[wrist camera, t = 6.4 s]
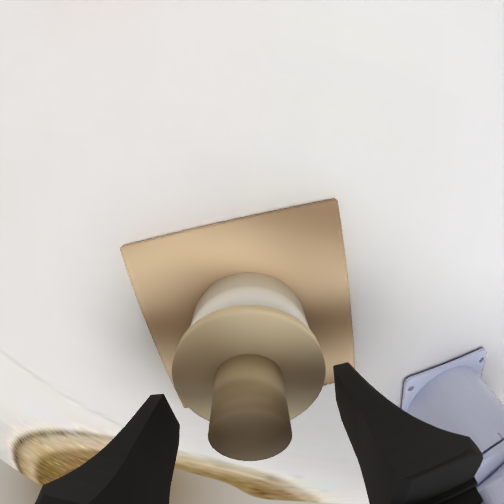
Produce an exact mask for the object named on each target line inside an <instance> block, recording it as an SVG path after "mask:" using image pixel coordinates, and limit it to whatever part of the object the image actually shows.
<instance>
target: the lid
mask: <svg viewBox="0 0 504 504" xmlns="http://www.w3.org/2000/svg"><path fill="white" fill-rule="evenodd" d="M325 374H326V367H325V360H324V357H323V354H322V351H321V348H320V345H319V343H318V341H317V339H316V337H315V335H314V334H313V333H312V331H311V330H310V329H309V328H308V327H307V326H306V325H305V324H304V323H303V322H301V321H300V320H299V319H297V318H296V317H294V316H292V315H290V314H288V313H286V312H284V311H281V310H279V309H275V308H271V307H267V306H260V305H238V306H231V307H227V308H223V309H220V310H217V311H214V312H212V313H210V314H208V315H205V316H204V317H202V318H201V319H199V320H198V321H196V322H195V323H194V324H193V325H192V326H190V327H189V329H188V330H187V331H186V332H185V333H184V335H183V336H182V338H181V340H180V342H179V344H178V346H177V349H176V352H175V356H174V359H173V364H172V379H173V383H174V386H175V389H176V391H177V393H178V395H179V397H180V398H181V399H182V401H183V402H184V403H185V404H186V405H187V406H188V407H189V408H190V409H191V410H192V411H193V412H194V413H196V414H197V415H199V416H200V417H202V418H204V419H206V420H208V421H210V423H209V432H208V439H209V442H210V444H211V446H212V447H213V448H214V449H215V450H216V451H217V452H219V453H220V454H222V455H224V456H226V457H229V458H232V459H236V460H243V461H257V460H263V459H267V458H270V457H273V456H275V455H277V454H279V453H281V452H282V451H283V450H285V449H286V448H287V446H288V445H289V444H290V442H291V439H292V431H291V424H290V420H291V419H293V418H295V417H296V416H298V415H299V414H301V413H302V412H303V411H305V410H306V409H307V408H308V407H309V406H310V405H311V404H312V403H313V402H314V401H315V399H316V398H317V397H318V395H319V393H320V391H321V389H322V387H323V384H324V380H325Z"/></svg>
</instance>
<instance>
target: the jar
mask: <svg viewBox="0 0 504 504" xmlns="http://www.w3.org/2000/svg"><path fill="white" fill-rule="evenodd" d="M238 305H260V306H267V307H271V308H275V309H279V310H281V311H284V312H286V313H288V314H290V315H292V316H294V317H296V318H297V319H299V320H300V321H301V322H303V323H304V324H305V325H306V326H307V327H308V328H309V325H308V322H307V319H306V316H305V313H304V311H303V308H302V305H301V303H300V300H299V299H298V297H297V295H296V294H295V293H294V292H293V290H292V289H291V288H290V287H289V286H287V285H286V284H285V283H283V282H282V281H280V280H278V279H276V278H274V277H272V276H269V275H266V274H261V273H253V272H244V273H237V274H233V275H229V276H227V277H224V278H222V279H220V280H218V281H216V282H215V283H214V284H212V285H211V286H210V287H209V288H208V289H207V290H206V291H205V292H204V293H203V294H202V296H201V297H200V299H199V301H198V303H197V305H196V308H195V311H194V315H193V318H192V322H191V325H190V326H192V325H193V324H194V323H195V322H196V321H198V320H199V319H201V318H202V317H204V316H205V315H208V314H210V313H212V312H214V311H217V310H220V309H223V308H227V307H231V306H238ZM309 329H310V328H309Z"/></svg>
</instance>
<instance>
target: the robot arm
mask: <svg viewBox="0 0 504 504" xmlns="http://www.w3.org/2000/svg"><path fill="white" fill-rule="evenodd" d="M486 354H487V351H486V350H485V349H484V348H481V349H479V350H477V351H474V352H472V353H470V354H468V355H465V356H463V357H461V358H458V359H456V360H453V361H451V362H448V363H446V364H443V365H441V366H438V367H435V368H433V369H430V370H427V371H425V372H422V373H419V374H416V375H414V376H411V377H408V378H407V379H406V380H405V382H404V389H403V399H402V408H399V407H398V406H396V405H395V404H393V403H392V402H391V401H389V400H388V399H387V398H385V397H384V396H383V395H382V394H380V393H379V392H378V391H377V390H376V389H375V388H373V387H372V386H371V385H370V384H369V383H368V382H367V381H366V380H365V379H364V378H363V377H362V376H361V375H360V374H359V373H358V372H357V371H356V370H355V369H354V368H353V367H352V365H351V364H350V363H348V362H346V363H342V364H338V365H334V366H333V371H334V381H335V392H336V401H337V405H338V408H339V412H340V416H341V419H342V422H343V424H344V427H345V429H346V432H347V434H348V437H349V439H350V442H351V444H352V446H353V449H354V451H355V454H356V456H357V459H358V462H359V464H360V467H361V471H362V475H363V479H364V482H365V486H366V490H367V494H368V498H369V503H370V504H504V405H503V404H502V403H501V401H500V400H499V399H498V398H497V396H496V395H495V394H494V393H493V392H492V390H491V389H490V388H489V387H488V385H487V384H486V383H485V382H484V381H483V380H482V378H481V374H482V370H483V366H484V362H485V358H486ZM409 387H410V388H409ZM179 429H180V424H179V422H178V421H177V419H176V417H175V415H174V413H173V411H172V409H171V407H170V405H169V404H168V402H167V400H166V398H165V396H164V394H157V395H151V396H150V397H149V398H148V399H147V400H146V402H145V403H144V404H143V405H142V406H141V408H140V409H139V410H138V411H137V413H136V414H135V415H134V416H133V417H132V419H131V420H130V421H129V422H128V423H127V425H126V426H125V427H124V428H123V429H122V430H121V431H120V432H119V433H118V434H117V436H116V437H115V438H114V439H113V440H112V441H111V442H110V443H109V444H108V445H107V446H106V447H104V448H103V449H102V450H101V451H100V452H99V453H98V454H96V455H95V456H94V457H92V458H91V459H90V460H88V461H87V462H86V463H84V464H83V465H81V466H80V467H78V468H77V469H75V470H73V471H72V472H70V473H69V474H66V475H65V476H63V477H61V478H59V479H56V480H54V481H52V482H49V483H47V484H45V485H43V487H42V489H41V491H40V493H39V496H38V498H37V500H36V503H35V504H169V496H170V486H171V481H172V475H173V471H174V466H175V461H176V456H177V451H178V445H179Z"/></svg>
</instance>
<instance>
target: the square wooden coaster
mask: <svg viewBox="0 0 504 504" xmlns="http://www.w3.org/2000/svg"><path fill="white" fill-rule="evenodd" d="M120 251H121V254H122V257H123V260H124V263H125V266H126V269H127V272H128V275H129V278H130V280H131V283H132V286H133V289H134V291H135V294H136V297H137V300H138V302H139V305H140V308H141V310H142V313H143V315H144V318H145V320H146V323H147V326H148V328H149V330H150V333H151V335H152V338H153V340H154V343H155V345H156V347H157V350H158V352H159V354H160V357H161V359H162V361H163V364H164V366H165V368H166V370H167V373H168V375H169V377H170V379H171V381H172V383H173V379H172V364H173V359H174V356H175V352H176V349H177V346H178V344H179V342H180V340H181V338H182V336H183V335H184V333H185V332H186V331H187V330H188V329H189V327H190V325H191V322H192V318H193V315H194V311H195V308H196V305H197V303H198V301H199V299H200V297H201V296H202V294H203V293H204V292H205V291H206V290H207V289H208V288H209V287H210V286H211V285H212V284H214V283H215V282H216V281H218V280H220V279H222V278H224V277H227V276H229V275H233V274H237V273H244V272H253V273H261V274H266V275H269V276H272V277H274V278H276V279H278V280H280V281H282V282H283V283H285V284H286V285H287V286H289V287H290V288H291V289H292V290H293V292H294V293H295V294H296V295H297V297H298V299H299V300H300V303H301V305H302V308H303V311H304V313H305V316H306V319H307V322H308V325H309V328H310V330H311V331H312V333H313V334H314V335H315V337H316V339H317V341H318V343H319V345H320V348H321V351H322V354H323V357H324V360H325V367H326V374H325V380H324V384H323V385H326V384H331V383H335V381H334V371H333V366H334V365H338V364H342V363H346V362H348V363H350V364H351V365H352V367H353V368H354V369H355V363H354V346H353V331H352V318H351V306H350V295H349V285H348V276H347V267H346V259H345V250H344V243H343V235H342V228H341V221H340V214H339V207H338V201H337V200H336V199H335V198H334V199H329V200H324V201H319V202H313V203H308V204H303V205H299V206H294V207H289V208H284V209H279V210H274V211H270V212H265V213H260V214H255V215H251V216H246V217H242V218H237V219H233V220H228V221H224V222H219V223H215V224H210V225H206V226H201V227H197V228H193V229H188V230H184V231H180V232H176V233H171V234H167V235H163V236H159V237H155V238H151V239H147V240H143V241H138V242H134V243H130V244H126V245H123V246H122V247H121V248H120ZM173 386H174V383H173ZM174 388H175V386H174ZM175 390H176V389H175ZM176 392H177V391H176ZM177 394H178V393H177ZM178 396H179V395H178ZM179 398H180V397H179ZM180 400H181V402H182V404H183V406H184V408H189V407H188V406H187V405H186V404H185V403H184V402H183V401H182V399H181V398H180Z"/></svg>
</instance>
